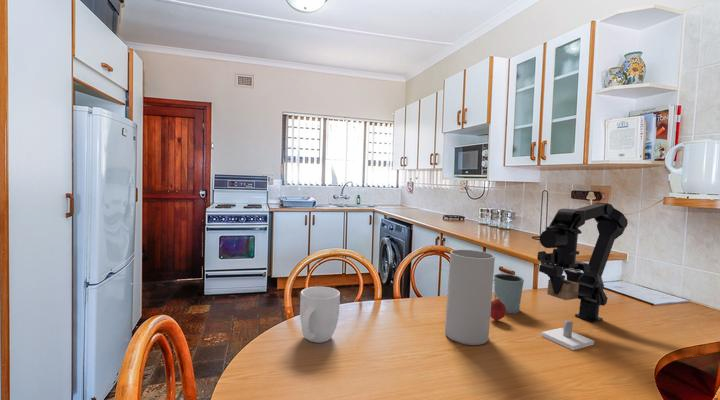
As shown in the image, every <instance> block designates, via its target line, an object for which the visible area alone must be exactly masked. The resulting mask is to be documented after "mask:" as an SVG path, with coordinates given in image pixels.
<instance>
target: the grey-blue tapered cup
mask: <svg viewBox="0 0 720 400" xmlns="http://www.w3.org/2000/svg"><path fill="white" fill-rule="evenodd" d="M524 281H525V279H524V278H523V277H522V276H518V275H514V274H509V273H497V274H493V284H494V286H493V288H494V291H493V292H494V298H493V301H494V300H495V299H496V298H497V297H499V298H500V299H499V300H500V301H501V302H502V303H503V304H504V305H505V307H506V314H507V313H508V314H518V313H519V312H520V308H521V301H522V300H521V299H522V293H523V291H522V290H523V287H524Z"/></svg>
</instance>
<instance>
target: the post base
mask: <svg viewBox="0 0 720 400" xmlns="http://www.w3.org/2000/svg"><path fill="white" fill-rule="evenodd" d="M563 322H564V323H563V327H559V328H554V329H549V330H545V331H541V334H540V336H541V337H543V338H545V339H547V340H549V341H551V342H553V343H556V344H558V345H561V346H562V347H564V348H567V349H568V350H569V349H570V350H571V351H575V350H579V349H583V348H586V347H590V346H593V345H594V344H595V340H594V339H592V338H589V337H586V336H584V335H581V334H579V333H577V332H574V331H573V325H574V322H573V321H571V320H568V319H567V320H564V321H563Z"/></svg>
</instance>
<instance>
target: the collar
mask: <svg viewBox="0 0 720 400" xmlns="http://www.w3.org/2000/svg"><path fill="white" fill-rule="evenodd" d="M547 283H548V285H547V295H549V296H552V297H555V298H557V299H560V300H563V301H571V300H577V298H578V288H579V283H576V282H572V281H569V280H567V279H566V278H565V279H564V281H563V284H562V286H561V289H560V291H559V293H558V295H557V294H554V291H553V287H552V283H551V280H550V279H548V282H547Z"/></svg>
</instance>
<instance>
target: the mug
mask: <svg viewBox="0 0 720 400" xmlns="http://www.w3.org/2000/svg"><path fill="white" fill-rule="evenodd" d="M340 299H341V293H340V291H339V290H338V289H336V288H333V287H329V286H309V287H306V288H304V289H302V290H300V301H299V303H300V304H299V313H300V314H299V320H300V325H301V331H302V336H303V337H304V339H306V340H308V341H309V342H312V343H325V342H327V341H329V340H330V339H331V338H332V337H333V335H334V333H335V331H336V328H337V325H338V321H339V315H340V307H341V306H340V302H341V300H340Z"/></svg>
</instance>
